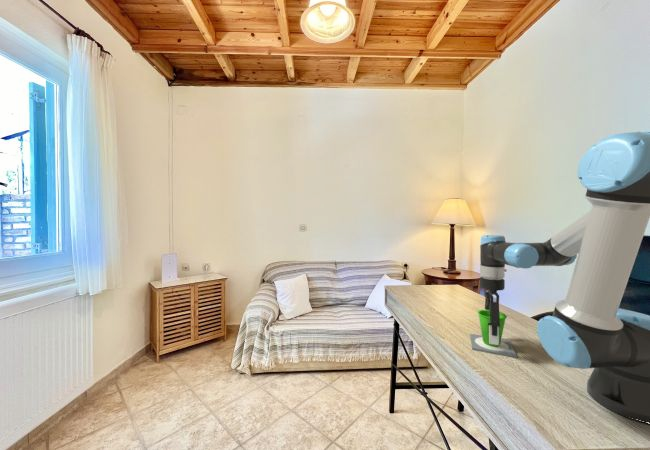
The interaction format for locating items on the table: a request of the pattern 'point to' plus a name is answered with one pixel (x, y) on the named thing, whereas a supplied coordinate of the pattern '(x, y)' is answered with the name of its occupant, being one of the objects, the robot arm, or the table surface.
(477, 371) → the table surface
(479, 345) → the coaster
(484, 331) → the cup
